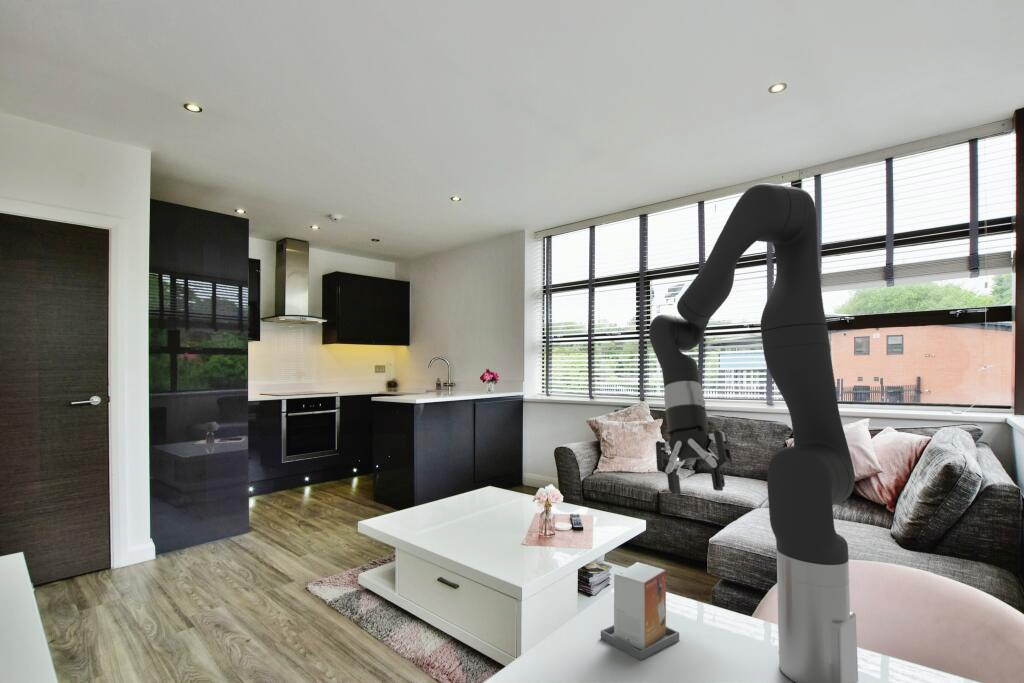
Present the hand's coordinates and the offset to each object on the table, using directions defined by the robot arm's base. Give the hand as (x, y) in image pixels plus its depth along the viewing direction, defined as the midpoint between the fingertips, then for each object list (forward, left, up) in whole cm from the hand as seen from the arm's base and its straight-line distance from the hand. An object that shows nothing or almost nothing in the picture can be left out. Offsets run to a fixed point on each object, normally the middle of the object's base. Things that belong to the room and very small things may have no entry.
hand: (696, 492), depth 93 cm
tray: (+1, +16, -22) cm, 27 cm away
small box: (+1, +15, -22) cm, 27 cm away
